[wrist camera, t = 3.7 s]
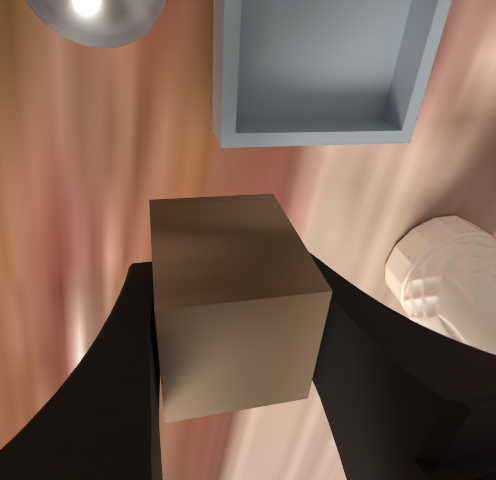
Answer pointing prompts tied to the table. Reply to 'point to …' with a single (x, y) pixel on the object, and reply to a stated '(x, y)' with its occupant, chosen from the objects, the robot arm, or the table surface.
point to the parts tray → (321, 70)
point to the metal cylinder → (99, 19)
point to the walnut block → (233, 305)
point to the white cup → (448, 280)
